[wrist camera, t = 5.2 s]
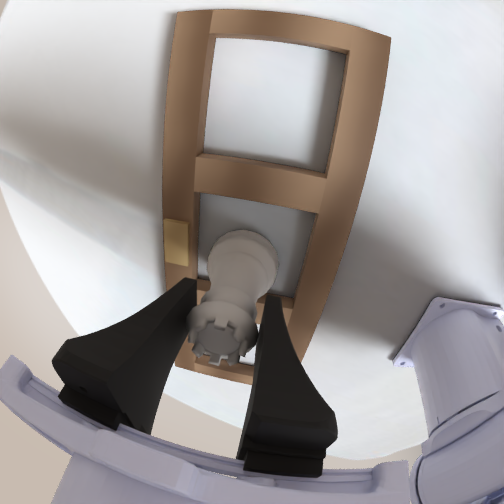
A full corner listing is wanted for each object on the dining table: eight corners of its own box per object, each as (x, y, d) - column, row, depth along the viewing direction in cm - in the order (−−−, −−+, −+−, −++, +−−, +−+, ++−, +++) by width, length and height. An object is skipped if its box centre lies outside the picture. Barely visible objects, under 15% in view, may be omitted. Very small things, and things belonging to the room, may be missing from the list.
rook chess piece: (288, 278, 18) (285, 371, 11) (228, 295, 19) (197, 383, 12) (263, 216, 17) (244, 289, 10) (200, 240, 18) (146, 315, 11)
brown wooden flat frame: (384, 41, 10) (393, 36, 9) (288, 381, 25) (287, 393, 23) (186, 17, 11) (175, 10, 10) (179, 356, 25) (174, 368, 24)
